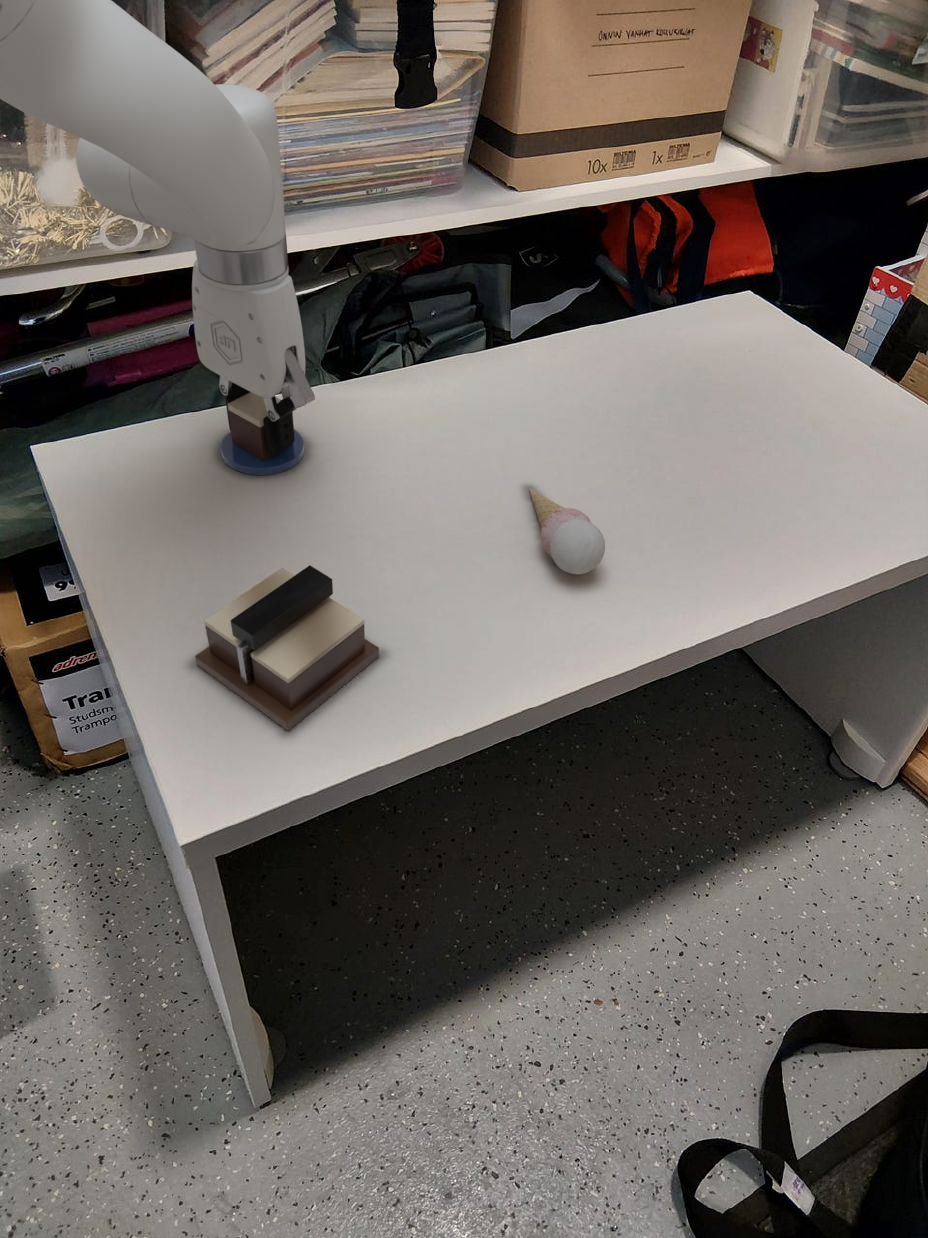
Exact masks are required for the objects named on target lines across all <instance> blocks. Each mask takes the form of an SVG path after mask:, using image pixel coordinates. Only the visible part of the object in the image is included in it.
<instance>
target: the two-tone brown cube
mask: <svg viewBox="0 0 928 1238" xmlns="http://www.w3.org/2000/svg"><path fill="white" fill-rule="evenodd" d="M275 398H276V402H277V403H279V402H280V401H281V400H282V399H281V398H278V397H276V396H275ZM228 412H229V420H230V427H231V431H230V432H231V435H232V443H233V444H235V445H236V446H238V447H240V448H241V449H243V450H245V451H247V452H248V453H250V454H252V455H254V456H255V457H257V458H259V459H261V460H262V461H265V460H267V459H268V458H270V457H272V456H274V455H275V454H274V455H271V454H269V453H268V452H267V449H266V440H265V430H264V421H263V418H265V417H266V416H268V415H267V412H266V408H265V404H264V401H263V397H260V396H258V395H256V394H254V393H252V392H250V393H248V394H246V395H244V396H242V397H240V398H238V399H236V400H234V401H232V402H230V403H228ZM291 445H293V444H291ZM291 445H289V446H291ZM289 446H288V447H289ZM288 447H286V448H288ZM286 448H284V449H286ZM284 449H282V450H284ZM282 450H281V451H282ZM281 451H279V452H281ZM279 452H277V453H279ZM277 453H276V454H277Z"/></svg>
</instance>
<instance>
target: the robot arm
mask: <svg viewBox="0 0 928 1238" xmlns="http://www.w3.org/2000/svg"><path fill="white" fill-rule="evenodd" d="M0 100H1V101H3V102H4V103H7V104H8V105H9V106H12V107H13V108H15V109H17V110H19V111H20V112H23V113H25V114H26V115H28V116H30V117H32V118H34V119H37V120H38V121H41V122H43V123H45V124H47V125H50V126H52V127H54V128H57V129H60V130H62V131H63V132H66V133H69V134H71V135H73V136H75V137H78V138H79V140H78V143H77V147H76V154H75V155H76V156H75V158H76V159H75V160H76V161H75V162H76V167H77V172H78V175H79V178H80V181H81V183H82V185H83V187H84V189H85V190H86V191H87V193H88V194H89V195H90V196H91V197H92V199H94V200H95V201H96V202H97V203H98V204H100V205H101V206H102V207H104V208H105V209H107V210H109V211H110V212H112V213H114V214H116V215H119V216H121V217H123V218H127V219H130V220H134V221H137V222H140V223H143V224H146V225H148V226H152V227H155V228H158V229H162V230H163V229H164V230H166V231H168V232H169V231H170V232H173V233H176V234H178V235H181V236H184V237H187V238H191V239H193V242H194V249H195V256H196V260H195V261H194V262H193V268H192V277H191V279H192V281H191V301H192V302H191V303H192V304H191V305H192V318H193V328H194V338H195V344H196V351H197V356H198V359H199V362H201V364H202V365H203V366H204V367H205V368H207V369H208V370H210V371H211V372H213V373H214V374H215V377H216V378H218V381H219V382H218V388H219V391H220V393H221V394H222V395H223V396H225V397H224V399H225V405H226V406H225V407H226V414H227V421H228V429H229V432H231V427H230V420H229V412H228V403H230V402H232V401H234V400H236V399H238V398H240V397H242V396H244V395H246V394H248V393H250V392H252V393H254V394H256V395H258V396H260V397H263V401H264V404H265V408H266V412H267V415H268V416H266V417H265V418H263V421H264V430H265V440H266V449H267V452H268V453H269V454H271V455H274V454H276V453H277V452H279V451H281V450H282V449H284V448H286V447H288V446H289V445H291V444H293V442H294V440H295V437H294V430H295V428H294V414H293V413H294V411H296V410H297V409H299V408H302V407H305V406H307V405H308V404H310V403H311V402H313V401H315V400H316V396H315V393H314V391H313V389H312V387H311V385H310V383H309V381H308V379H307V377H306V350H305V341H304V340H305V339H304V332H303V323H302V318H301V313H300V309H299V308H300V307H299V303H298V298H297V293H296V290H295V286H294V282H293V278H292V276H290V275H289V272H290V270H289V269H290V268H289V257H288V243H287V230H286V217H285V216H286V215H285V203H284V189H283V176H282V175H283V174H282V161H281V149H280V138H279V137H280V135H279V123H278V116H277V115H278V114H277V111H276V108H275V106H274V104H273V103H272V101H271V100H270V98H269V97H268V96H267V95H265V94H264V93H263V92H262V91H260V90H258V89H255V88H252V87H247V86H245V85H239V84H230V83H229V84H228V83H221V84H220V83H218V84H215V83H213V81H212V80H211V79H210V78H208V77H207V75H205V73H204V72H202V71H201V70H200V69H199V68H198V67H197V66H195V65H194V64H193V63H192V62H190V61H189V59H187V58H186V57H185V56H183V55H182V54H181V53H180V52H179V51H177V50H176V49H175V48H173V47H172V46H171V45H169V44H168V43H167V42H165V41H164V40H163V39H161V38H160V37H159V36H157V35H156V34H155V33H154V32H152V31H151V30H149V29H148V28H147V27H145V26H144V25H143V24H142V23H140V22H139V21H138V20H137V19H135V17H133V16H132V15H130V13H128V12H127V11H126V10H124V9H123V8H122V7H121V6H119V5H118V4H116V2H115V1H113V0H0ZM280 393H281V397H282V399H280V400H281V401H280V402H279V403H277V402H276V398H275V397H276V395H278V394H280Z"/></svg>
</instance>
